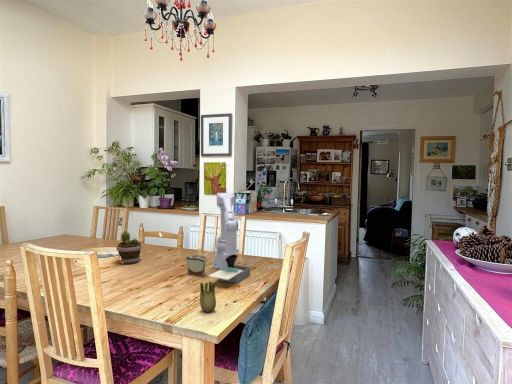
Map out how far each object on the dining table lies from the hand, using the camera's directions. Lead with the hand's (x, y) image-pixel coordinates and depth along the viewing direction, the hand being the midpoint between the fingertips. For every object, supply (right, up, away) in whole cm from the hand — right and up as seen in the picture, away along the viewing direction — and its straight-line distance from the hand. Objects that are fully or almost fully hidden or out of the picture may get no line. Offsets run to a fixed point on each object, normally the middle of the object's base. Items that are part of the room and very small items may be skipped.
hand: (230, 269), depth 167 cm
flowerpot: (-64, -3, +30) cm, 71 cm away
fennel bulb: (-6, -8, -37) cm, 39 cm away
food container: (-18, -5, +9) cm, 21 cm away
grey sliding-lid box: (+2, -5, +4) cm, 7 cm away
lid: (-2, -1, -4) cm, 5 cm away
